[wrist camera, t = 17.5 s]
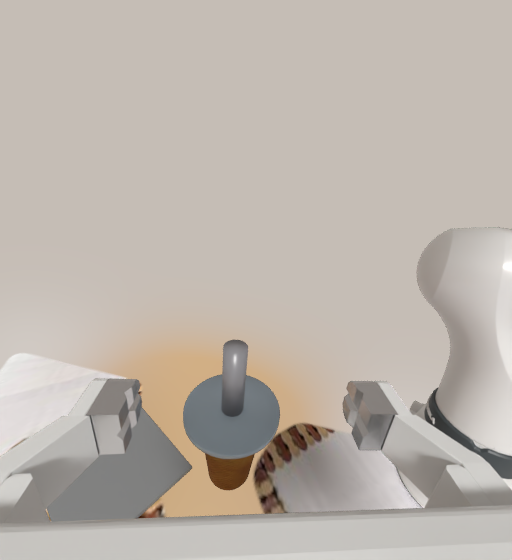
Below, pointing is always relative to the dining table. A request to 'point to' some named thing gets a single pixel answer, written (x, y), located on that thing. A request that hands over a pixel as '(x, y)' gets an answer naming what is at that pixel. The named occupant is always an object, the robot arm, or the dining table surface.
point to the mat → (123, 479)
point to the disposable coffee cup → (228, 471)
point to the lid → (231, 409)
